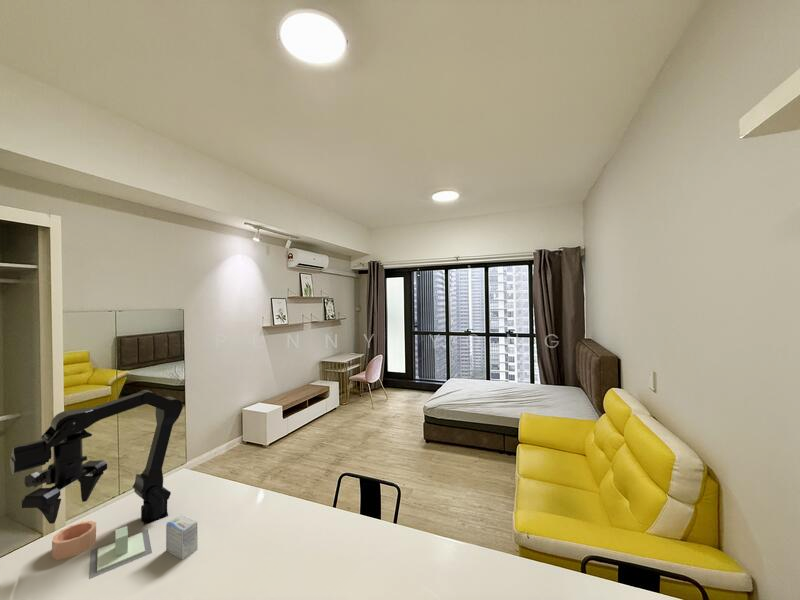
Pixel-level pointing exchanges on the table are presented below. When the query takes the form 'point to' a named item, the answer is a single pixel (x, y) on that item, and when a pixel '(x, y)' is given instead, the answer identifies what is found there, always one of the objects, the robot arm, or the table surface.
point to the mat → (94, 559)
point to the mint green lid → (120, 549)
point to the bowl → (73, 540)
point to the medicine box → (181, 536)
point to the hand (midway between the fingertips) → (69, 511)
